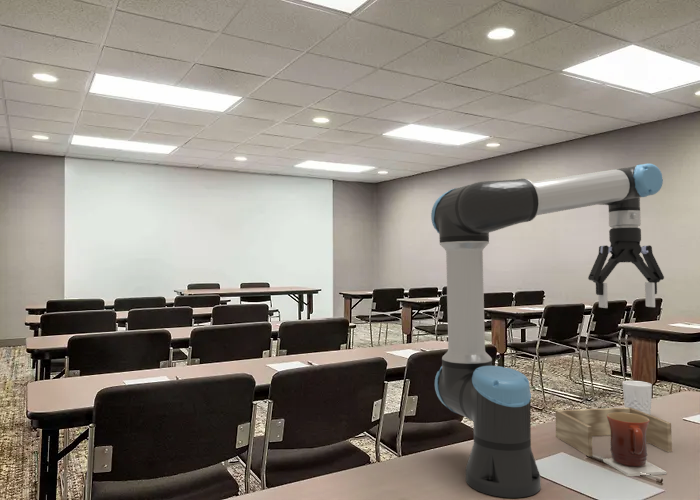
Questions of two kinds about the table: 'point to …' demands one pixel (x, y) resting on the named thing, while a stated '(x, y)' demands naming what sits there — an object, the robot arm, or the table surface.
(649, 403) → the white cup
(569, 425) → the bay
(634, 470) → the coaster
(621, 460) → the mug
